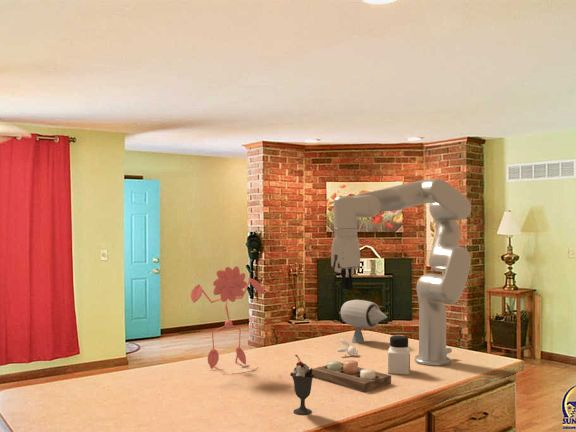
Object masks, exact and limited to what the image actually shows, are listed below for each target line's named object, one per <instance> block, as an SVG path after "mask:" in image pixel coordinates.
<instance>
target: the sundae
mask: <svg viewBox="0 0 576 432" xmlns="http://www.w3.org/2000/svg"><path fill="white" fill-rule="evenodd" d="M294 356H295V357H296V358H297V360H298V362H297V363H296V367H294V369H293V372H290V374H289V375H290V377H292V381H293V388H294V393H295V395H296V397H298V398H299V399H300V405H299V407H298V408H295V409H294V410H293V413H294V414H295V415H297V416H298V415H300V416H307V415H311V414H312V413H313V411H312V410H311V409H310V408H308V407H306V402H305V401H306V399H307V398H308V397H309V396H310V394H311V392H312V386H313V385H312V384H313V383H312V382H313V379H314V376H315V373H312V369H313V368H312V367H311V368H310V366H309V365H307V364H306V363H304V362H303V361H301V359H300V357H299V356H298V354H295V355H294Z"/></svg>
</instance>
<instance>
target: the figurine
mask: <svg viewBox="0 0 576 432" xmlns="http://www.w3.org/2000/svg"><path fill="white" fill-rule="evenodd" d="M216 276H217V279H215V280H214V281H213V283H212V284H213V286H214V289H213V295H214V296H217V295H220V298H217V299H215V300H211V298H210V297H209V296H208V294H207V293H206V292H205V290H204V289H203V287H202V286H201V284H197V285H195V286H194V287H193V289H192V290H191V292H190V299H191V302H192V303H193V304H195V303H196V302H197V301H198V300H200V298H201V297H202V295H203V294H204V295H205V296H204V297H206V298H207V300H208V301H209V302H210V303H211V304H212V303H216V302H219V301H221V302H223V303H225V306H224V307H225V311H226V316H227V320H226V321H225V322H224V326H221V327H219V328H217V329H215V330H212V332H211V338H212V349H210V351H209V353H208V355H207V364H208V365H209V367H210V370H213V369H214V368H215V367H216V366H217V364H218V362H219V359H220V357H219V356H220V355H219V352H218V350H217V349H215V345H214V343H215V341H214V332H216V331H218V330H221V329H223V328H226V329H230V328H232V327H234V328H236V329H237V330H239V334H238V336H239V337H238V338H239V339H238V340H239V341H238V346H237V347H236V348H235V353H236V354H235V355H236V356H235V363H237V362H238V360H239V361H240V362H241V363H242V364H244V365H247V357H246V353H245V351H244V350H243V349H242V348H241V328H240V327H237V326H236V325H233V321H232V320H230V317H229V316H230V315H229V311H228V301H230V302H232V303H234V302H236V300H237V299H238V300H239V299H241V300H242V299H243V298H244V295H245V294H246V292H247V289H248V287H249V285H251V286H252V287H253V288H254V289H255V290H256V291H257V292H258V293H260V294H262V295H266V292H265V290H264V288H263V286H262V284H261V283H260V282H258V281H257V280H256V279H254V278H251V277H249V279H248V282H247V281H245V280H246V274H245V273H244V272H242V273H241V272H240V267H239V266H236V265H235V266H234V267H233V268H231V267H229V266H226V267H225V268H224V270H222V269H220V270H217V271H216ZM243 289H244V290H243ZM257 369H258V367H256V368H255V369H254V368H253V369H252V370H249V371H247V373H249V372H254V371H256V370H257ZM244 373H246V371H244V372H237V373H236V372H235V373H233V375H235V374H236V375H237V374H244Z"/></svg>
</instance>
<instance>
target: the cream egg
mask: <svg viewBox="0 0 576 432" xmlns="http://www.w3.org/2000/svg"><path fill="white" fill-rule="evenodd" d="M375 372H376V371H375V370H374V369H369V368H364V369H363V370H361V371H360V378H363V379H366V380H371V379H375Z"/></svg>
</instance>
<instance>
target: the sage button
mask: <svg viewBox="0 0 576 432" xmlns="http://www.w3.org/2000/svg"><path fill="white" fill-rule="evenodd" d="M342 363H343V362H341V361H339V360H331V361H327V364H326V365H327V369H330V370H333V371H337V370H341V369H342Z"/></svg>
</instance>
